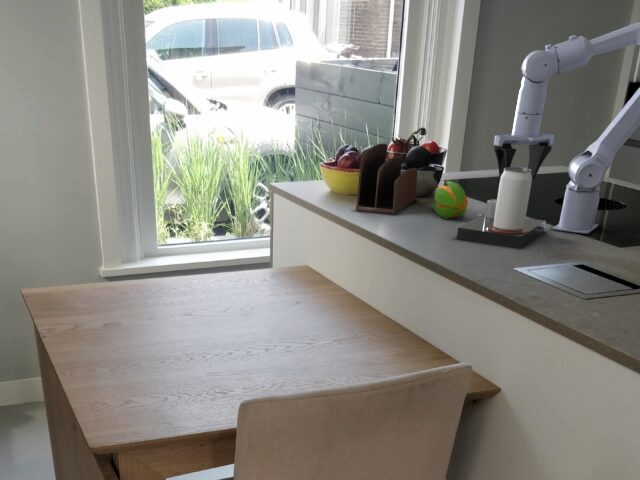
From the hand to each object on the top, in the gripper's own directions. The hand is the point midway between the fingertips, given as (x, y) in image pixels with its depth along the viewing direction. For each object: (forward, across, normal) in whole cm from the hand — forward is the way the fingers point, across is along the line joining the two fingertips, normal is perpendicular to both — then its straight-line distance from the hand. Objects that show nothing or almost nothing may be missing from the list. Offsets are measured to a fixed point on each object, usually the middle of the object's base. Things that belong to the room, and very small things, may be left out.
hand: (516, 179), depth 188 cm
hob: (+10, -7, -7) cm, 14 cm away
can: (+8, -9, -11) cm, 16 cm away
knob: (+8, -5, 0) cm, 9 cm away
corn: (+11, -6, +17) cm, 21 cm away
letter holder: (+11, -16, +30) cm, 35 cm away
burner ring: (+8, -9, -11) cm, 16 cm away
